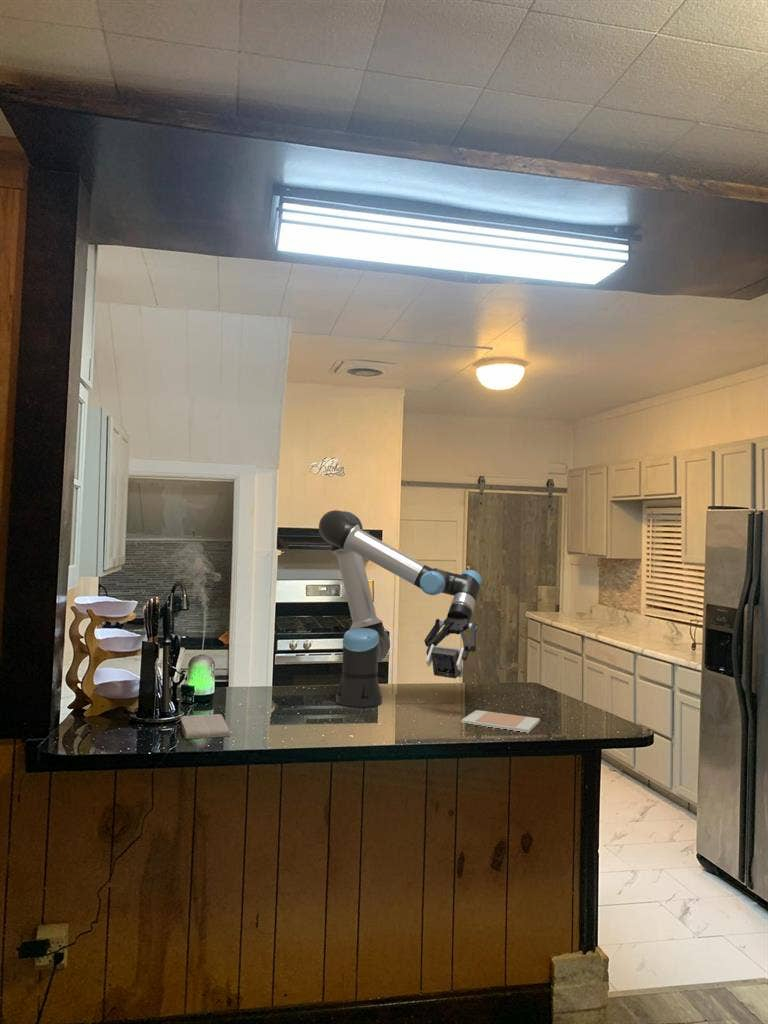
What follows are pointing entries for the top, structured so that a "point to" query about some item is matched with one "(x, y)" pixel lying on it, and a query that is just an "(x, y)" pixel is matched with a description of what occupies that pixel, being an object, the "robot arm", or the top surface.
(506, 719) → the mounting plate
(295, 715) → the top surface
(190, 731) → the washcloth
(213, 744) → the top surface
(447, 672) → the electrical switch
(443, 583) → the robot arm
